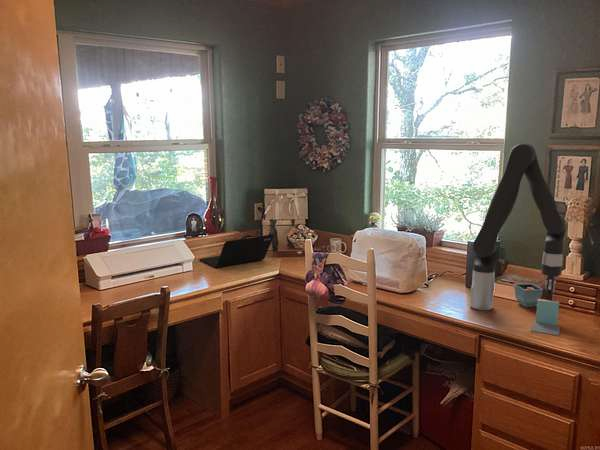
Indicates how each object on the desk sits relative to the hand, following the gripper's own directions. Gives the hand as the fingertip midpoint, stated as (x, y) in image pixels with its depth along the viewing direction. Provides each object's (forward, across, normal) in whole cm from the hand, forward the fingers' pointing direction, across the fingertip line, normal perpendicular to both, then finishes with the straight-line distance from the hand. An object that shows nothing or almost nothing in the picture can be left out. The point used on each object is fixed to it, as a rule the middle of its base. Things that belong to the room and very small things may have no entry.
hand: (548, 303), depth 213 cm
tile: (+7, +7, 0) cm, 10 cm away
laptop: (+8, -18, -173) cm, 174 cm away
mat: (+7, +13, 0) cm, 15 cm away
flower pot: (+7, -14, -9) cm, 18 cm away
